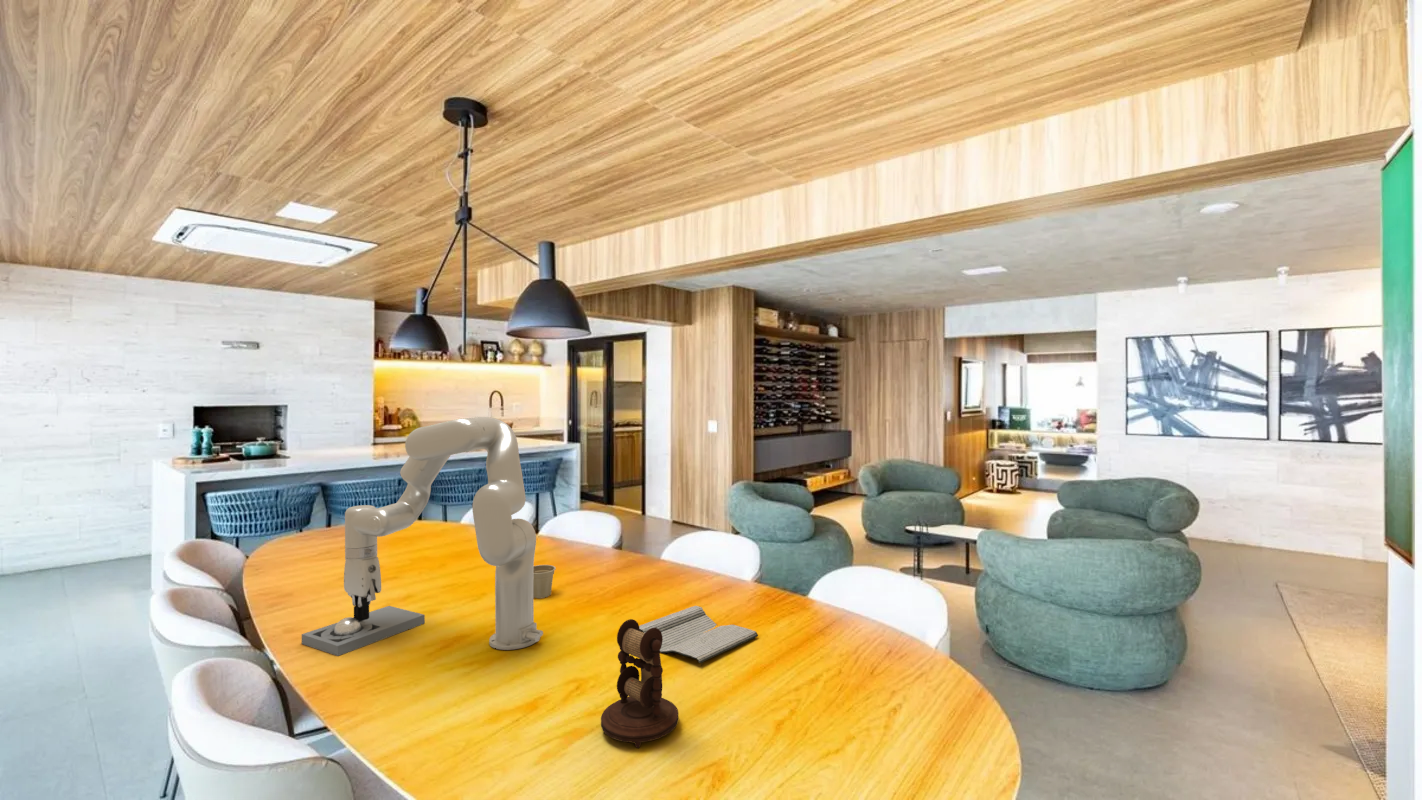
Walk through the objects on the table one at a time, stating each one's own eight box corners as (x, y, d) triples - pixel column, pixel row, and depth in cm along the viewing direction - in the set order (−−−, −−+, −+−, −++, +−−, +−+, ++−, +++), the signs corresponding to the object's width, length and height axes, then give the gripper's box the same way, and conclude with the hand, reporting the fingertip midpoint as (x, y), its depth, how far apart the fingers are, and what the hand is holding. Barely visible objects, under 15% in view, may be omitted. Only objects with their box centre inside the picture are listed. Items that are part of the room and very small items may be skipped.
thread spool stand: (694, 725, 115) (693, 622, 115) (636, 760, 104) (635, 646, 104) (643, 700, 125) (642, 605, 125) (585, 730, 114) (584, 625, 114)
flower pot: (537, 602, 186) (537, 574, 186) (519, 596, 191) (519, 569, 191) (561, 594, 193) (561, 567, 193) (543, 589, 199) (543, 563, 199)
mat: (699, 671, 140) (699, 650, 140) (632, 644, 155) (632, 626, 155) (758, 640, 157) (758, 622, 157) (693, 619, 172) (692, 602, 172)
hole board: (424, 623, 169) (424, 614, 169) (337, 656, 148) (337, 645, 148) (389, 614, 176) (389, 605, 176) (301, 643, 155) (301, 634, 155)
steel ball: (327, 643, 154) (337, 634, 160) (352, 646, 155) (361, 637, 161) (332, 620, 154) (342, 612, 160) (357, 624, 155) (366, 615, 161)
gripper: (391, 552, 161) (391, 620, 161) (358, 545, 168) (358, 610, 168) (364, 558, 154) (364, 629, 155) (331, 551, 162) (331, 619, 162)
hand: (361, 619), depth 161 cm, fingers closed
